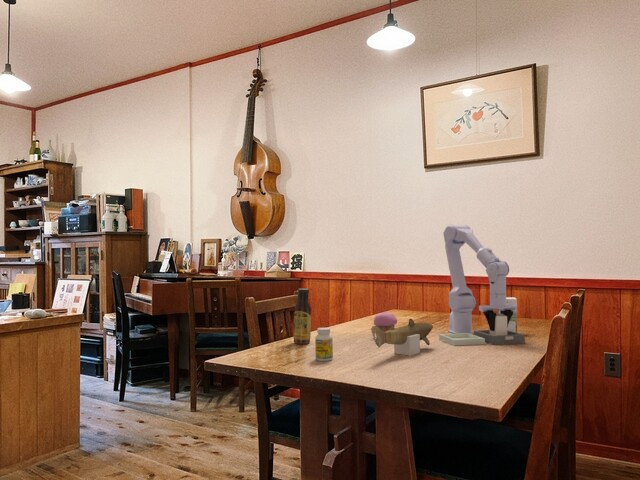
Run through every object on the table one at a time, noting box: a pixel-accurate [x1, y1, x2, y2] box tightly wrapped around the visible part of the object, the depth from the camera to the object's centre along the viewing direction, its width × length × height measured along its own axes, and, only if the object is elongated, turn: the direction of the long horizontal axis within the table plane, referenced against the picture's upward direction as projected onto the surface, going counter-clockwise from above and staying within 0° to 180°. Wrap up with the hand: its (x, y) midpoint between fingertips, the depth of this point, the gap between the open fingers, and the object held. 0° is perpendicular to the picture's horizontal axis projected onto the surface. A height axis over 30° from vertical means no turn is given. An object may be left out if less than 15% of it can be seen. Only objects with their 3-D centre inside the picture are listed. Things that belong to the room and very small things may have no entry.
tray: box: [438, 333, 486, 347], centre depth 180 cm, size 12×12×2 cm
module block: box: [489, 312, 507, 336], centre depth 182 cm, size 4×4×9 cm
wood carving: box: [370, 318, 434, 357], centre depth 160 cm, size 9×35×11 cm, turn 138°
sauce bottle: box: [292, 288, 312, 345], centre depth 179 cm, size 7×6×20 cm
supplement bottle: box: [314, 327, 334, 362], centre depth 152 cm, size 5×5×10 cm
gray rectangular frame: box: [473, 329, 526, 346], centre depth 182 cm, size 14×13×3 cm
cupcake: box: [373, 311, 398, 332], centre depth 189 cm, size 9×9×10 cm
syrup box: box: [498, 296, 518, 333], centre depth 199 cm, size 6×6×14 cm
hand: (498, 330), depth 182 cm, fingers closed on module block, 4 cm apart
